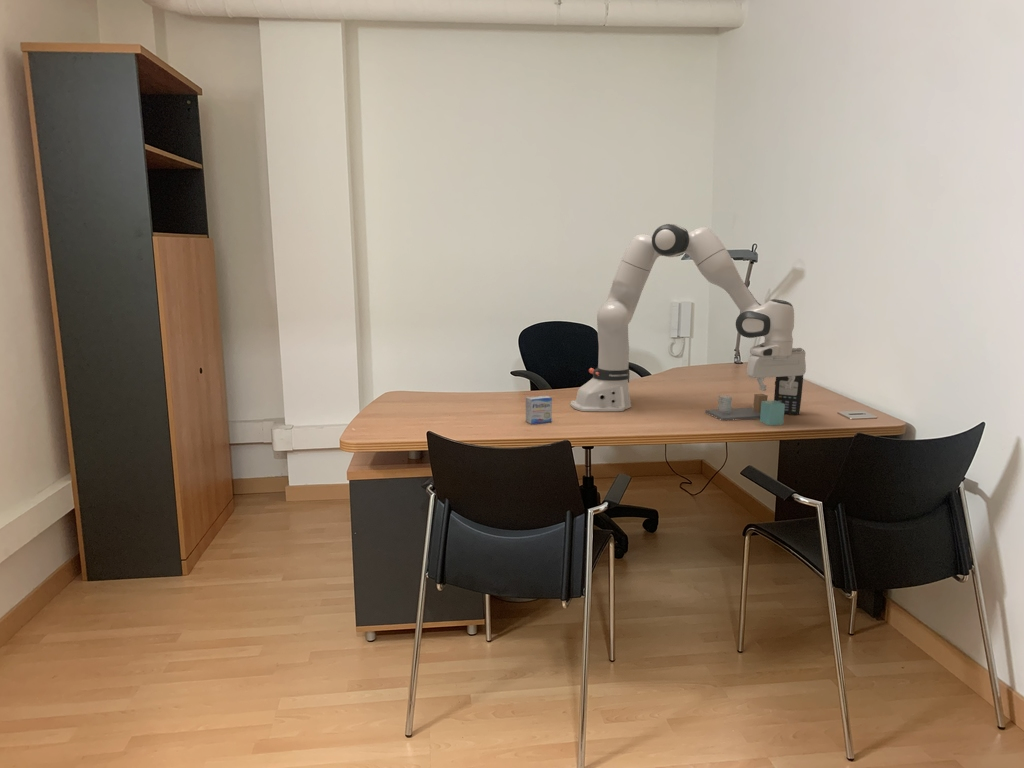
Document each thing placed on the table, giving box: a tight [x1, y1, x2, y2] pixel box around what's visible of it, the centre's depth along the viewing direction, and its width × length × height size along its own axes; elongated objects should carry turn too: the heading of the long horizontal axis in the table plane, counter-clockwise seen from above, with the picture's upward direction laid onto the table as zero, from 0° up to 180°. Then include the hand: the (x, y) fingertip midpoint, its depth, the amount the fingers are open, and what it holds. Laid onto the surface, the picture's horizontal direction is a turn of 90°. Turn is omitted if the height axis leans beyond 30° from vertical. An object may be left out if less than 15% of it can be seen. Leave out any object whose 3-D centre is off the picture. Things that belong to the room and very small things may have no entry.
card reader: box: [773, 375, 804, 416], centre depth 256 cm, size 9×4×15 cm, turn 66°
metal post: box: [717, 395, 733, 415], centre depth 252 cm, size 3×3×6 cm
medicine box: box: [525, 395, 553, 425], centre depth 243 cm, size 8×4×9 cm, turn 114°
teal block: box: [759, 400, 785, 426], centre depth 244 cm, size 5×5×7 cm
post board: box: [704, 393, 768, 421], centre depth 254 cm, size 22×12×7 cm, turn 103°
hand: (775, 389), depth 242 cm, fingers open, 8 cm apart
